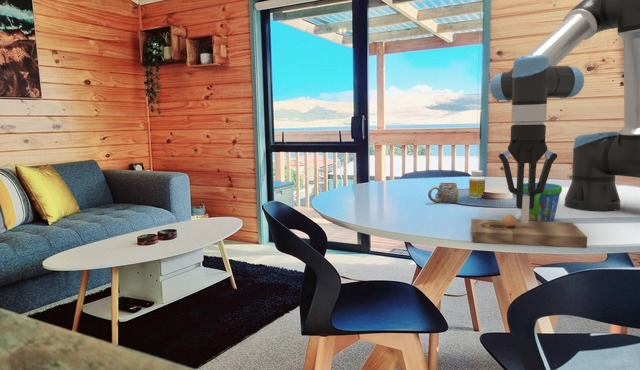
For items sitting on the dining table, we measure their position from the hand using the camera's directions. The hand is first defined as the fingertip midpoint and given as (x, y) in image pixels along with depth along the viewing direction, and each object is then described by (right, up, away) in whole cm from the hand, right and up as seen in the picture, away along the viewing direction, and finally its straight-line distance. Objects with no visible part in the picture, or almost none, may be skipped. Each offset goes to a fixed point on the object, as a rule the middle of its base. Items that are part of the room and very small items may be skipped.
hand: (524, 221), depth 111 cm
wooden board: (0, -4, +1) cm, 4 cm away
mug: (-7, +3, +48) cm, 48 cm away
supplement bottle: (+7, +4, +55) cm, 56 cm away
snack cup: (+11, -1, +16) cm, 20 cm away
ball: (-3, 0, +1) cm, 3 cm away
